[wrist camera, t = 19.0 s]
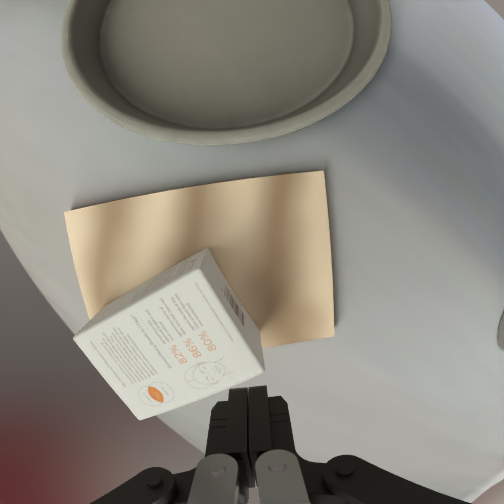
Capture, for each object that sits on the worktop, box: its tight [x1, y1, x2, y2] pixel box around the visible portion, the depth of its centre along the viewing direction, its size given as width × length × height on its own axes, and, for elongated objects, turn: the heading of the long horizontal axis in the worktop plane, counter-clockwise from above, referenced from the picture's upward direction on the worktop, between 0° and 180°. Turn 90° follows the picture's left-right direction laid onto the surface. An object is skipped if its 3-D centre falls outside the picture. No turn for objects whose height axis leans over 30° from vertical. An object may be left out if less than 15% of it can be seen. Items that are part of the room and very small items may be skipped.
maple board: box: [64, 171, 334, 347], centre depth 23 cm, size 20×13×1 cm, turn 97°
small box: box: [73, 248, 265, 420], centre depth 20 cm, size 8×6×10 cm
